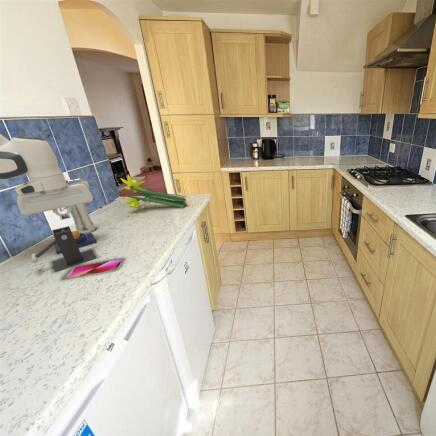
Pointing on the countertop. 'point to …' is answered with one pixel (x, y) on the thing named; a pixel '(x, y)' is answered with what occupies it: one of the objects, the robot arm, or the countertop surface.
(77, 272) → the smartphone
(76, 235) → the boil button
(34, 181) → the robot arm
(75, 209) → the plastic bottle
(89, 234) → the boil block
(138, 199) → the daffodil flowers
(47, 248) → the switch lever
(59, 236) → the black stand
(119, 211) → the countertop surface
